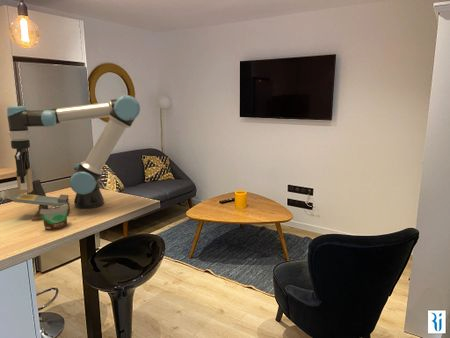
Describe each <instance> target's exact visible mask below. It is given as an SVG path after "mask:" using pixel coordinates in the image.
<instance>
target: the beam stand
mask: <svg viewBox="0 0 450 338" xmlns="http://www.w3.org/2000/svg"><path fill="white" fill-rule="evenodd" d="M67 204H68V207H69V208H68V209H67V217H69V214H70V212H71V209H70V202H68V203H67ZM48 208H49V206H48V205H38V210H37V211H36V212H35V214H34V215H33V216H32V218H31V222H36V221H38V222H39V221H43V218H42V214H40V210H41V209H48Z"/></svg>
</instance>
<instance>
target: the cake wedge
mask: <svg viewBox="0 0 450 338" xmlns="http://www.w3.org/2000/svg"><path fill="white" fill-rule="evenodd" d="M68 208H69V207H68V204H67V203H66V202H65V204H63V205H60V206H50V207H48V209H41V210H40V214H42V218H43V220H42V221H43V222H42V223H43V225H44V229H45V231H58V230H62V229H65V228H66V227H67V226H68V216H67V209H68Z"/></svg>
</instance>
